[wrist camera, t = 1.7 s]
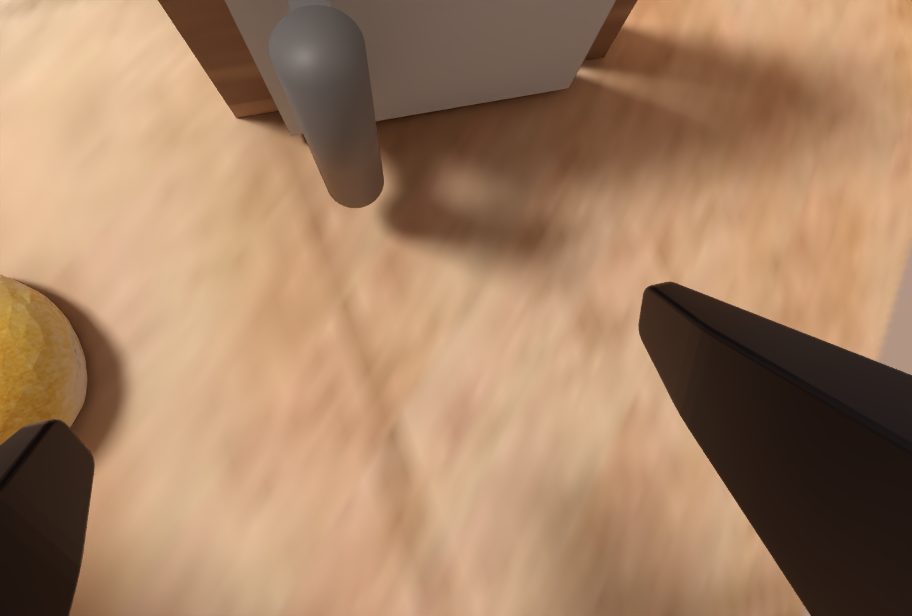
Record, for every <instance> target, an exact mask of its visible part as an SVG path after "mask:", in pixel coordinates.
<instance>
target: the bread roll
mask: <svg viewBox="0 0 912 616" xmlns="http://www.w3.org/2000/svg"><path fill="white" fill-rule="evenodd" d="M86 390H87V370H86V360H85V356H84V352H83V349H82V347H81V344H80V342H79V339H78V337H77V335H76V333H75V331H74V329H73V328H72V326H71V324H70V322H69V320H68V319H67V318H66V317H65V315H64V314H63V313H62V312H61V311H60V310H59V309H58V307H57V306H56V305H55V304H54V303H53V302H51V301H50V300H49V299H48V298H47V297H46V296H44V295H43V294H41V293H40V292H38V291H36V290H34V289H32V288H30V287H29V286H28V285H24V284H22V283H20V282H17V281H15V280H13V279H11V278H8V277H5V276H3V275H0V445H1V444H2V443H3V442H4V441H6V440H7V439H8V438H9V437H10V436H12V435H13V434H14V433H15V432H17V431H18V430H19V429H20V428H22V427H23V426H25V425H28V424H31V423H35V422H40V421H44V420H49V419H60V420H62V421H64V422H65V423H66V424H67V425H68V426H69V427H71V425H72V424H73V422H74V421H75V419H76V417H77V415H78V413H79V412H80V410H81V408H82V406H83V404H84V401H85V397H86Z"/></svg>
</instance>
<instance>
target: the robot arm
mask: <svg viewBox="0 0 912 616" xmlns="http://www.w3.org/2000/svg"><path fill="white" fill-rule="evenodd" d="M639 334H640V337H641V340H642V342H643V344H644V346H645V348H646V350H647V352H648V354H649V356H650V358H651V360H652V362H653V363H654V365H655V367H656V369H657V371H658V373H659V375H660V377H661V379H662V381H663V383H664V385H665V387H666V389H667V391H668V393H669V395H670V397H671V399H672V401H673V403H674V405H675V407H676V409H677V410H678V412H679V414H680V416H681V417H682V419H683V421H684V422H685V424H686V425H687V427H688V429H689V430H690V432H691V433H692V435H693V436H694V438H695V439H696V441H697V442H698V444H699V445H700V447H701V448H702V450H703V452H704V453H705V455H706V456H707V458H708V459H709V461H710V462H711V464H712V465H713V467H714V468H715V470H716V471H717V473H718V474H719V476H720V477H721V479H722V481H723V482H724V484H725V485H726V487H727V488H728V490H729V491H730V493H731V494H732V496H733V497H734V499H735V500H736V502H737V503H738V505H739V507H740V508H741V510H742V511H743V513H744V514H745V516H746V517H747V519H748V520H749V522H750V523H751V525H752V526H753V528H754V529H755V531H756V533H757V534H758V536H759V537H760V539H761V540H762V542H763V543H764V545H765V546H766V548H767V549H768V551H769V552H770V554H771V555H772V557H773V558H774V560H775V562H776V563H777V565H778V566H779V568H780V569H781V571H782V572H783V574H784V575H785V577H786V578H787V580H788V581H789V583H790V584H791V586H792V588H793V589H794V591H795V592H796V594H797V595H798V597H799V598H800V600H801V601H802V603H803V604H804V606H805V607H806V609H807V610H808V612H809V613H810V615H811V616H912V375H910V374H907V373H904V372H902V371H900V370H897V369H894V368H892V367H889V366H887V365H884V364H882V363H879V362H877V361H874V360H871V359H869V358H866V357H864V356H861V355H859V354H856V353H853V352H851V351H848V350H846V349H843V348H841V347H838V346H836V345H833V344H830V343H828V342H825V341H823V340H820V339H818V338H815V337H812V336H810V335H807V334H805V333H802V332H800V331H797V330H795V329H792V328H789V327H787V326H784V325H782V324H779V323H777V322H774V321H771V320H769V319H766V318H764V317H761V316H759V315H756V314H754V313H751V312H748V311H746V310H743V309H741V308H738V307H736V306H733V305H730V304H728V303H725V302H723V301H720V300H718V299H715V298H713V297H710V296H707V295H705V294H702V293H700V292H697V291H695V290H692V289H689V288H687V287H684V286H682V285H679V284H677V283H674V282H664V283H660V284H655V285H651V286H649V287H647V288H646V289H645V291H644V293H643V299H642V305H641V312H640V318H639ZM93 476H94V459H93V456H92V454H91V452H90V450H89V449H88V448H87V447H86V446H85V445H84V443H83V442H82V441H81V440H80V439H79V438H78V436H77V435H76V434H75V433H74V432H73V431H72V430H71V428H70V427H69V426H68V425H67V424H66V423H65V422H64V421H62V420H60V419H49V420H44V421H40V422H35V423H31V424H28V425H25V426H23V427H22V428H20V429H19V430H18V431H17V432H15V433H14V434H13V435H12V436H10V437H9V438H8V439H7V440H6V441H4V442H3V443H2V444H1V445H0V616H69V614H70V610H71V606H72V602H73V598H74V594H75V590H76V586H77V582H78V577H79V573H80V568H81V563H82V557H83V551H84V544H85V536H86V528H87V521H88V513H89V506H90V498H91V491H92V483H93Z"/></svg>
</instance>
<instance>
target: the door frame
mask: <svg viewBox="0 0 912 616" xmlns="http://www.w3.org/2000/svg"><path fill="white" fill-rule="evenodd" d="M158 1H159V2H160V4H161V5H162V7H163V8H164V10H165V11H166V13H167V14H168V16H169V17H170V19H171V20H172V22H173V23H174V25H175V26H176V28H177V29H178V31H179V32H180V34H181V35H182V37H183V38H184V40H185V41H186V43H187V44H188V46H189V47H190V49H191V51H192V52H193V54H194V55H195V57H196V58H197V60H198V61H199V63H200V64H201V66H202V67H203V69H204V70H205V72H206V73H207V75H208V76H209V78H210V79H211V81H212V82H213V84H214V85H215V87H216V88H217V90H218V91H219V93H220V94H221V96H222V97H223V99H224V100H225V102H226V103H227V105H228V106H229V108H230V109H231V111H232V112H233V114H234V115H235V117H236V118H238V117H244V116H250V115H256V114H262V113H268V112H274V111H279V110H278V108H277V106H276V104H275V102H274V100H273V98H272V96H271V94H270V92H269V90H268V88H267V86H266V84H265V82H264V80H263V78H262V76H261V74H260V72H259V69H258V67H257V65H256V63H255V61H254V59H253V57H252V55H251V53H250V51H249V49H248V47H247V45H246V43H245V41H244V39H243V37H242V35H241V33H240V31H239V29H238V27H237V25H236V23H235V21H234V19H233V17H232V15H231V12H230V10H229V8H228V6H227V4H226V2H225V0H158ZM636 2H637V0H616V1H615V3H614V5H613V7H612V8H611V10H610V12H609V14H608V16H607V18H606V20H605V22H604V23H603V25H602V27H601V29H600V31H599V33H598V35H597V36H596V38H595V40H594V42H593V44H592V46H591V48H590V50H589V51H588V53H587V55H586V57H585V59H584V60H589V59H595V58H601V57H604V56H605V54H606V53H607V51H608V49H609V48H610V46H611V44H612V42H613V41H614V39H615V37H616V36H617V34H618V32H619V31H620V29H621V27H622V26H623V24H624V22H625V20H626V19H627V17H628V15H629V14H630V12H631V10H632V9H633V7H634V5H635V4H636Z"/></svg>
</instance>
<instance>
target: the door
mask: <svg viewBox="0 0 912 616" xmlns="http://www.w3.org/2000/svg"><path fill="white" fill-rule="evenodd" d="M615 1H616V0H225V2H226V4H227V6H228V8H229V10H230V12H231V15H232V17H233V19H234V21H235V23H236V25H237V27H238V29H239V31H240V33H241V35H242V37H243V39H244V41H245V43H246V45H247V47H248V49H249V51H250V53H251V55H252V57H253V59H254V61H255V63H256V65H257V67H258V69H259V72H260V74H261V76H262V78H263V80H264V82H265V84H266V86H267V88H268V90H269V92H270V94H271V96H272V98H273V100H274V102H275V104H276V106H277V108H278V110H279V112H280V114H281V116H282V118H283V120H284V122H285V124H286V126H287V129H288V131H289V133H290V135H291V136H292V135H298V134H303V135H304V137H305V139H306V141H307V144H308V146H309V148H310V151H311V153H312V155H313V157H314V160H315V162H316V164H317V167H318V169H319V171H320V173H321V176H322V178H323V180H324V183H325V185H326V187H327V189H328V192H329V194H330V195H331V197H332V198H333V199H334V200H335V201H336V202H338V203H339V204H341V205H343V206H346V207H350V208H361V207H365V206H367V205H369V204H371V203H372V202H374V201H375V200H376V199H377V198H378V197H379V195H380V194H381V192H382V189H383V185H384V177H383V170H382V163H381V155H380V148H379V141H378V134H377V126H376V121H380V120H386V119H392V118H398V117H403V116H409V115H415V114H421V113H427V112H433V111H438V110H444V109H450V108H456V107H462V106H468V105H474V104H479V103H485V102H491V101H497V100H503V99H509V98H515V97H520V96H526V95H532V94H538V93H544V92H550V91H555V90H561V89H567V88H569V87H570V85H571V83H572V81H573V80H574V78H575V76H576V74H577V72H578V70H579V68H580V66H581V65H582V63H583V61H584V59H585V57H586V55H587V53H588V51H589V50H590V48H591V46H592V44H593V42H594V40H595V38H596V36H597V35H598V33H599V31H600V29H601V27H602V25H603V23H604V22H605V20H606V18H607V16H608V14H609V12H610V10H611V8H612V7H613V5H614V3H615Z"/></svg>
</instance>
